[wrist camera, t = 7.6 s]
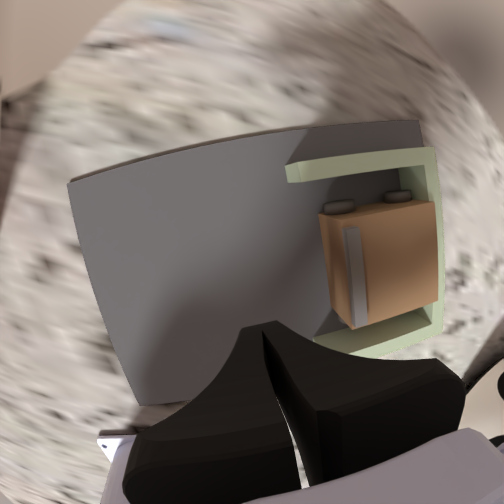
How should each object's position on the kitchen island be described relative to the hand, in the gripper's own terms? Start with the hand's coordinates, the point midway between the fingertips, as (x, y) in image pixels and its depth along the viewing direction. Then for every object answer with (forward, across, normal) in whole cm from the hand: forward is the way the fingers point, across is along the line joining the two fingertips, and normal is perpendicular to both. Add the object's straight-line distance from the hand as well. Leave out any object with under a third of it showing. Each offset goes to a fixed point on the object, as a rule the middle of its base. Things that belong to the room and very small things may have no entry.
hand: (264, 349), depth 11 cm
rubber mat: (+9, -2, 0) cm, 9 cm away
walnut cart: (+8, -8, 0) cm, 12 cm away
